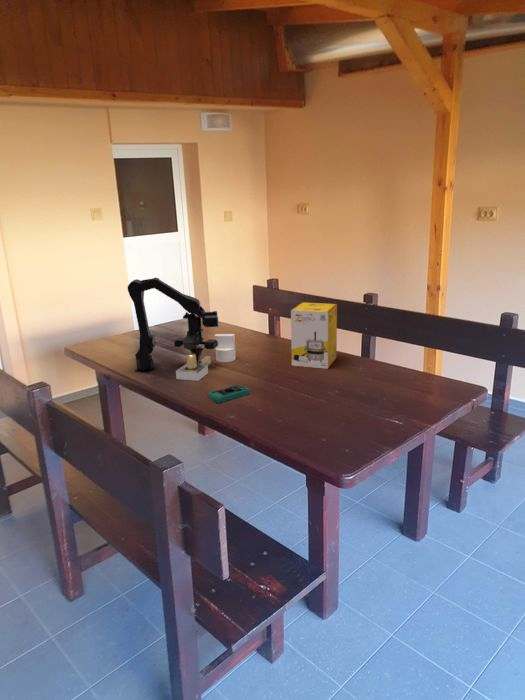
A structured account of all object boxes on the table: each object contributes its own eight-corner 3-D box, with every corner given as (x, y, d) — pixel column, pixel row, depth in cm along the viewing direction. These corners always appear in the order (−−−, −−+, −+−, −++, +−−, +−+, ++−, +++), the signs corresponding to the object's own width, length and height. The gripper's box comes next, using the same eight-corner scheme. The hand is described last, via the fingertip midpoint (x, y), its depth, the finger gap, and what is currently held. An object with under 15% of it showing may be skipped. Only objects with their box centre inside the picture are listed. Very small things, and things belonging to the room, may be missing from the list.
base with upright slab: (237, 357, 252) (235, 332, 248) (234, 363, 243) (233, 337, 240) (218, 357, 253) (216, 332, 249) (214, 363, 244) (213, 337, 240)
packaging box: (291, 365, 237) (290, 310, 230) (302, 354, 252) (301, 302, 245) (327, 368, 232) (327, 312, 224) (336, 357, 246) (337, 304, 239)
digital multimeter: (250, 395, 206) (250, 387, 206) (217, 404, 198) (217, 397, 197) (240, 389, 212) (239, 382, 211) (207, 399, 204) (207, 391, 203)
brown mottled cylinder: (186, 378, 226) (184, 355, 223) (190, 375, 229) (188, 352, 226) (194, 379, 224) (193, 356, 221) (199, 375, 228) (197, 353, 225)
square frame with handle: (176, 379, 224) (175, 371, 223) (198, 362, 244) (198, 355, 242) (198, 380, 220) (197, 372, 219) (219, 364, 240) (218, 356, 239)
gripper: (166, 331, 229) (169, 366, 233) (207, 333, 223) (209, 369, 228) (178, 325, 239) (181, 358, 244) (217, 327, 233) (219, 361, 238)
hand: (197, 361), depth 238 cm, fingers closed
